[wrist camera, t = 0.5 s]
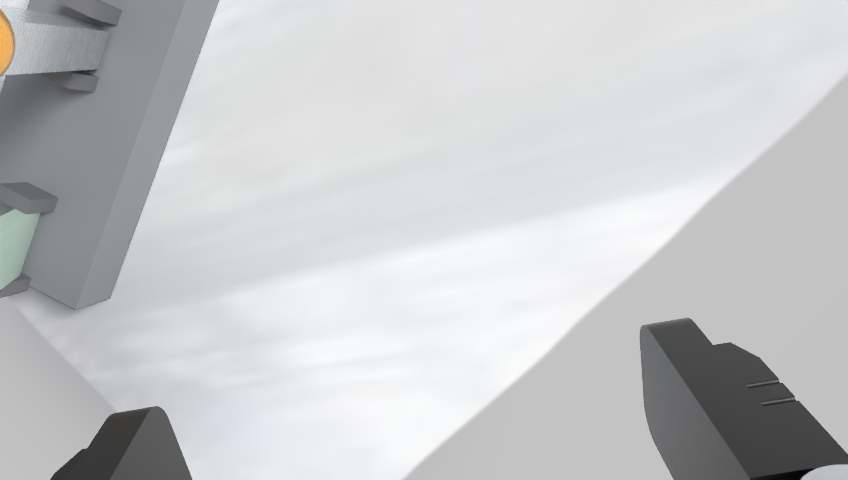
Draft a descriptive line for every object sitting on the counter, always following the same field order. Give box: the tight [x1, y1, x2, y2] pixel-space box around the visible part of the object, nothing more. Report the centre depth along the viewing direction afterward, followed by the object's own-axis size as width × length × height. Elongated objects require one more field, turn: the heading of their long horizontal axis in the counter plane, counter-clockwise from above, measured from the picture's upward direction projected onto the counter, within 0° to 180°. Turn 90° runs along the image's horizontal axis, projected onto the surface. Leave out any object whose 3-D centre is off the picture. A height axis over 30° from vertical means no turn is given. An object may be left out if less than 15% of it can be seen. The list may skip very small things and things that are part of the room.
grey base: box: [0, 0, 219, 310], centre depth 35 cm, size 27×8×5 cm, turn 156°
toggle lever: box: [0, 6, 110, 77], centre depth 27 cm, size 3×3×14 cm
